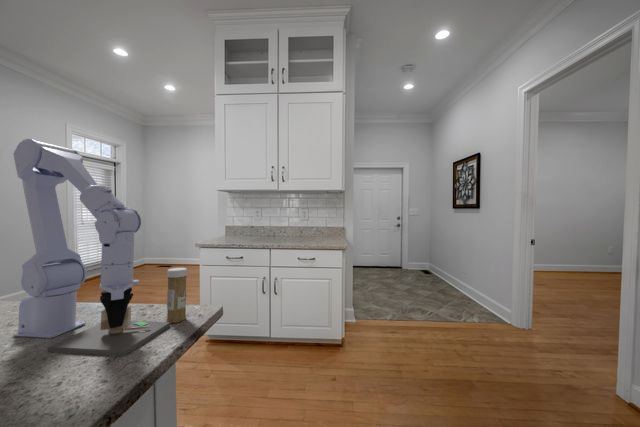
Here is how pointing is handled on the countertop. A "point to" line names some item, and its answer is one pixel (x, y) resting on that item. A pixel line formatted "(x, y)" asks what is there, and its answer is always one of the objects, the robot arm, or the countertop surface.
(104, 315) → the peg
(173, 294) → the sprinkles bottle
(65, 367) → the countertop surface
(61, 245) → the robot arm
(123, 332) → the dial board
